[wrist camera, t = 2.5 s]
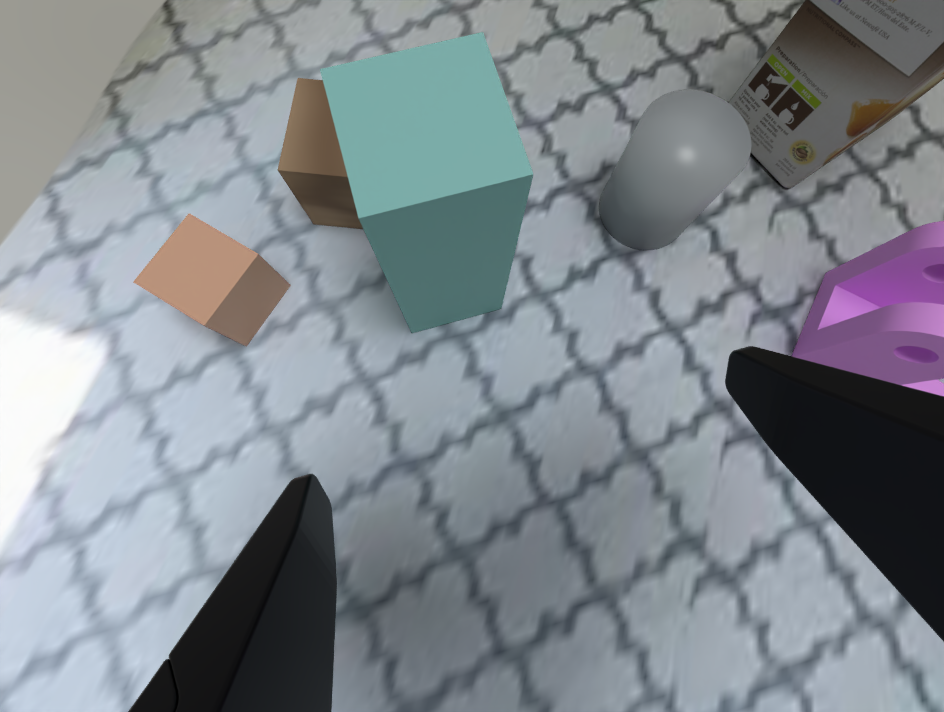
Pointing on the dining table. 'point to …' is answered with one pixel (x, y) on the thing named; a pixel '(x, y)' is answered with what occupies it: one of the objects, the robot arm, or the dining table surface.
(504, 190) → the teal block
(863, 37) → the coffee box
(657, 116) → the slate cylinder
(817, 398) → the robot arm
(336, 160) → the walnut cube
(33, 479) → the dining table surface
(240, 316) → the terracotta cube
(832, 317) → the bracket
